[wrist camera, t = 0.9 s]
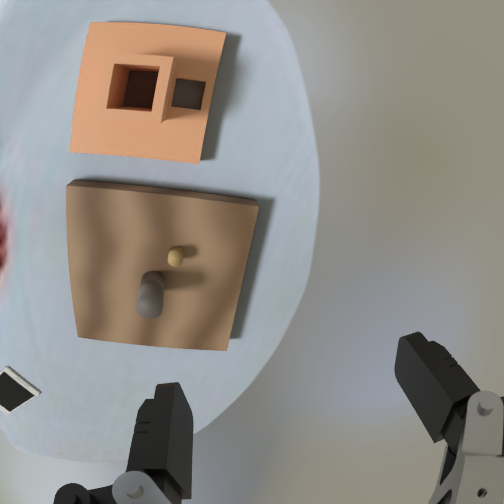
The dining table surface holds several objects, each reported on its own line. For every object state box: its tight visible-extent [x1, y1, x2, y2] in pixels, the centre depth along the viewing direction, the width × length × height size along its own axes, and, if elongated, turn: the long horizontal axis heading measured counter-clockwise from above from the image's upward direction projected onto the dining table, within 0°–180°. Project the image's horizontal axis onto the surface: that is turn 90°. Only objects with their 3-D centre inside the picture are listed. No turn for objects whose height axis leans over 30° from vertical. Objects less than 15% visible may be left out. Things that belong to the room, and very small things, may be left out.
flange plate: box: [70, 22, 226, 164], centre depth 21 cm, size 12×12×6 cm
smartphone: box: [0, 366, 40, 414], centre depth 37 cm, size 7×16×1 cm, turn 122°
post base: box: [66, 180, 259, 351], centre depth 30 cm, size 18×18×6 cm
